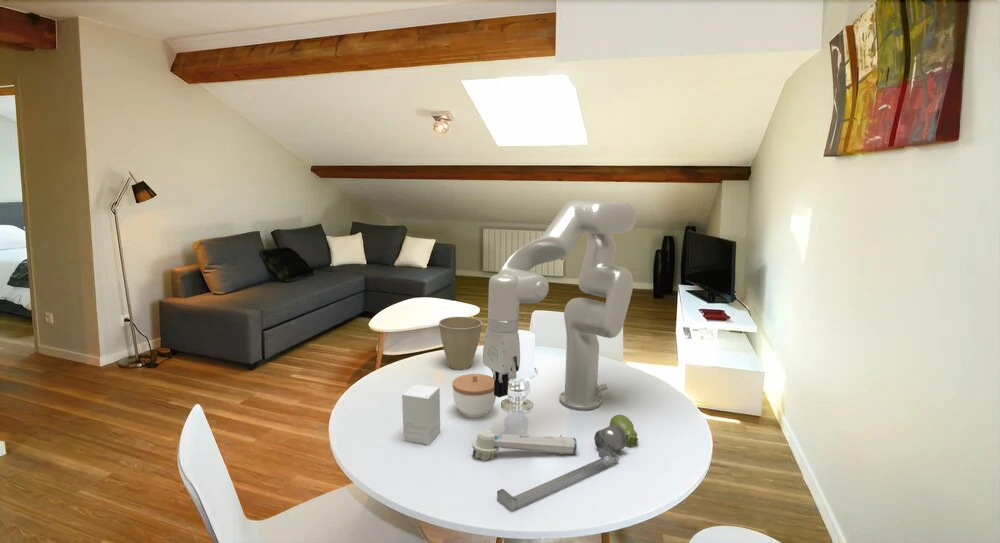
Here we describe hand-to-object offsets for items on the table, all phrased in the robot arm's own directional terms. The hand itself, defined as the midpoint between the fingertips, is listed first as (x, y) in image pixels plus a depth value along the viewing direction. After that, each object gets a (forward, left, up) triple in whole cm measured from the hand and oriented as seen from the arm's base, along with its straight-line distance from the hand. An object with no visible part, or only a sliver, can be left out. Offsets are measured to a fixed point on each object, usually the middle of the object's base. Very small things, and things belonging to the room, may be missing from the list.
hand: (500, 395), depth 136 cm
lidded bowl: (-4, -17, -13) cm, 21 cm away
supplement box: (+15, -13, -13) cm, 24 cm away
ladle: (-3, +21, -12) cm, 24 cm away
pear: (-27, +18, -13) cm, 35 cm away
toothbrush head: (-1, +9, -13) cm, 16 cm away
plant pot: (-20, -50, -13) cm, 55 cm away
